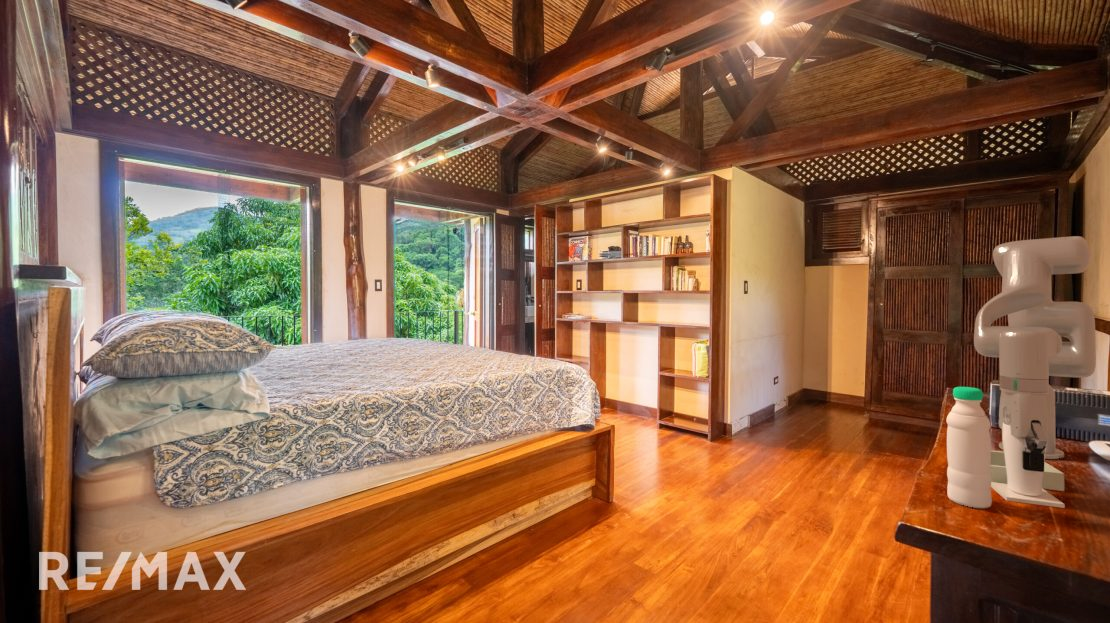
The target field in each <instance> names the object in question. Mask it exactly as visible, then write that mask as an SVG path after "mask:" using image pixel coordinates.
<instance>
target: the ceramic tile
mask: <svg viewBox="0 0 1110 623" xmlns="http://www.w3.org/2000/svg"><path fill="white" fill-rule="evenodd" d="M990 488H991V489H992V490H994V491H995V492H996V493H997V494H999V495H1000V497H1002V498H1003V499H1004V500H1005V501H1006V502H1014V503H1021V504H1022V503H1023V504H1028V505H1039V506H1046V507H1052V508H1053V507H1055V508H1062V509H1065V508H1066V506H1065V503H1063V502H1062V501H1061V500H1059V498H1056V497H1055V496H1054V495H1052V494H1050V492H1048V491H1047V490H1046V489H1043V488H1042V494H1041V495H1040V496H1027V495H1022V494H1018V493H1015V492H1013V491H1011V490H1010V489H1009V488H1008V486H1007V484H1004V483H995V482H991V487H990Z"/></svg>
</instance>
